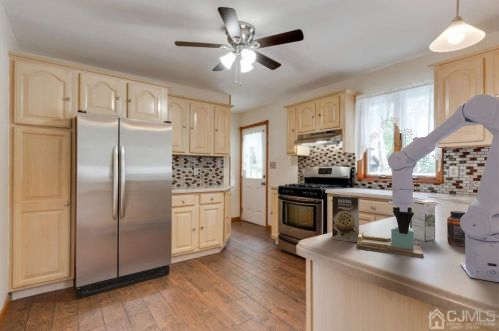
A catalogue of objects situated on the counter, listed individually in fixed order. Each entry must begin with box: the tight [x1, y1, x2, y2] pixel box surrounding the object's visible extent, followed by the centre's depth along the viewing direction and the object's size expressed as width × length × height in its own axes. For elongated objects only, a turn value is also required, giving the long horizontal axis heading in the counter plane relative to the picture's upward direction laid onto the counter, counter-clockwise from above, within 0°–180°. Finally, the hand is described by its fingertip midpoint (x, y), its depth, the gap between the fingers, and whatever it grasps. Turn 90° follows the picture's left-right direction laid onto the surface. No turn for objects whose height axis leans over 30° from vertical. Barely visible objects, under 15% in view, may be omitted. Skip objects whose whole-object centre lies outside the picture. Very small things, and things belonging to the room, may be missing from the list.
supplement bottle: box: [446, 210, 466, 248], centre depth 87 cm, size 6×6×11 cm
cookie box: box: [331, 194, 360, 243], centre depth 94 cm, size 9×6×16 cm
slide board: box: [357, 230, 425, 259], centre depth 84 cm, size 12×18×4 cm, turn 61°
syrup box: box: [409, 198, 437, 242], centre depth 93 cm, size 6×6×14 cm
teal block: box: [390, 226, 415, 249], centre depth 82 cm, size 4×6×6 cm
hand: (402, 231), depth 82 cm, fingers open, 7 cm apart
